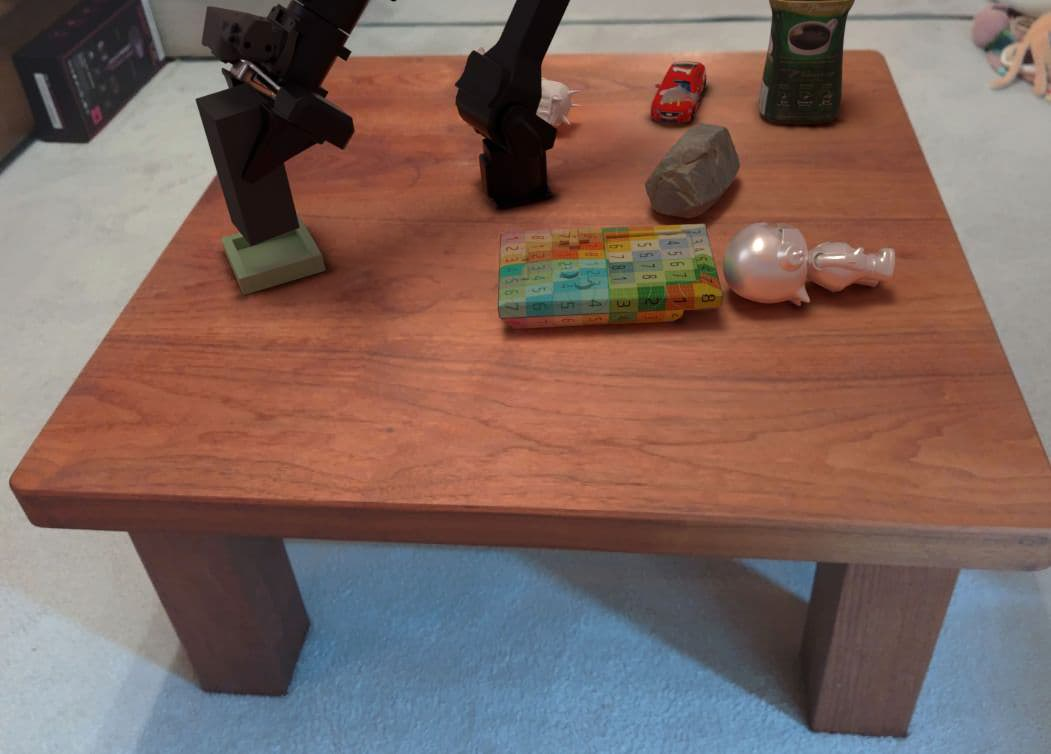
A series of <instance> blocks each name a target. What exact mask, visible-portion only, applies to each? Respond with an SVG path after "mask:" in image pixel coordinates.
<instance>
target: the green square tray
mask: <svg viewBox="0 0 1051 754" xmlns="http://www.w3.org/2000/svg"><path fill="white" fill-rule="evenodd" d="M297 218H298V222H299V226H300V228H298V229H296V230H293V231H290V232H288V233H285V234H282V235H280V236H277V237H274V238H272V239H269V240H266V241H264V242H261V243H258V244H256V245H253V246H250V244H249V243H248V242H247V241H246V239H245V238H244V237H243V236H242V234H241V233H240V232H236V233H233V234H230V235H225V236H222V237H220V241H221V244H222V247H223V251H224V254H225V256H226V258H227V260H228V263H229V265H230V268H231V270H232V272H233V274H234V277H235V279H236V281H237V283H238V286H239V288H240V290H241V292H242V295H243V296H246V295H249V294H252V293H256V292H259V291H262V290H267V289H269V288H273V287H277V286H279V285H283V284H285V283H289V282H293V281H296V280H299V279H302V278H306V277H309V276H313V275H315V274H320V273H323V272H325V271H326V266H325V261H324V256H323V253H322V252H321V250H320V248H319V247H318V245H317V243H316V241H315V240H314V238H313V237H312V234H311V233H310V232H309V230H308V228H307V226H306V224H305V223H304V220H303V219H302V217H301V216H300V215H297Z"/></svg>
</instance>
